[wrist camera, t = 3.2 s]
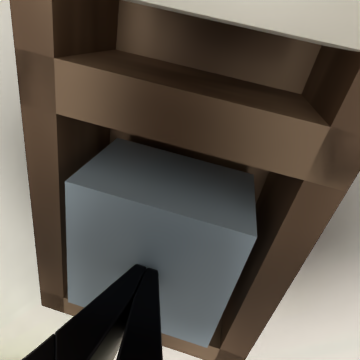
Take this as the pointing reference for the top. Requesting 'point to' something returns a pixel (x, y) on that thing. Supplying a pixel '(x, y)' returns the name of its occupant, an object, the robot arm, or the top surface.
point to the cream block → (280, 17)
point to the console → (188, 130)
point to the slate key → (160, 231)
